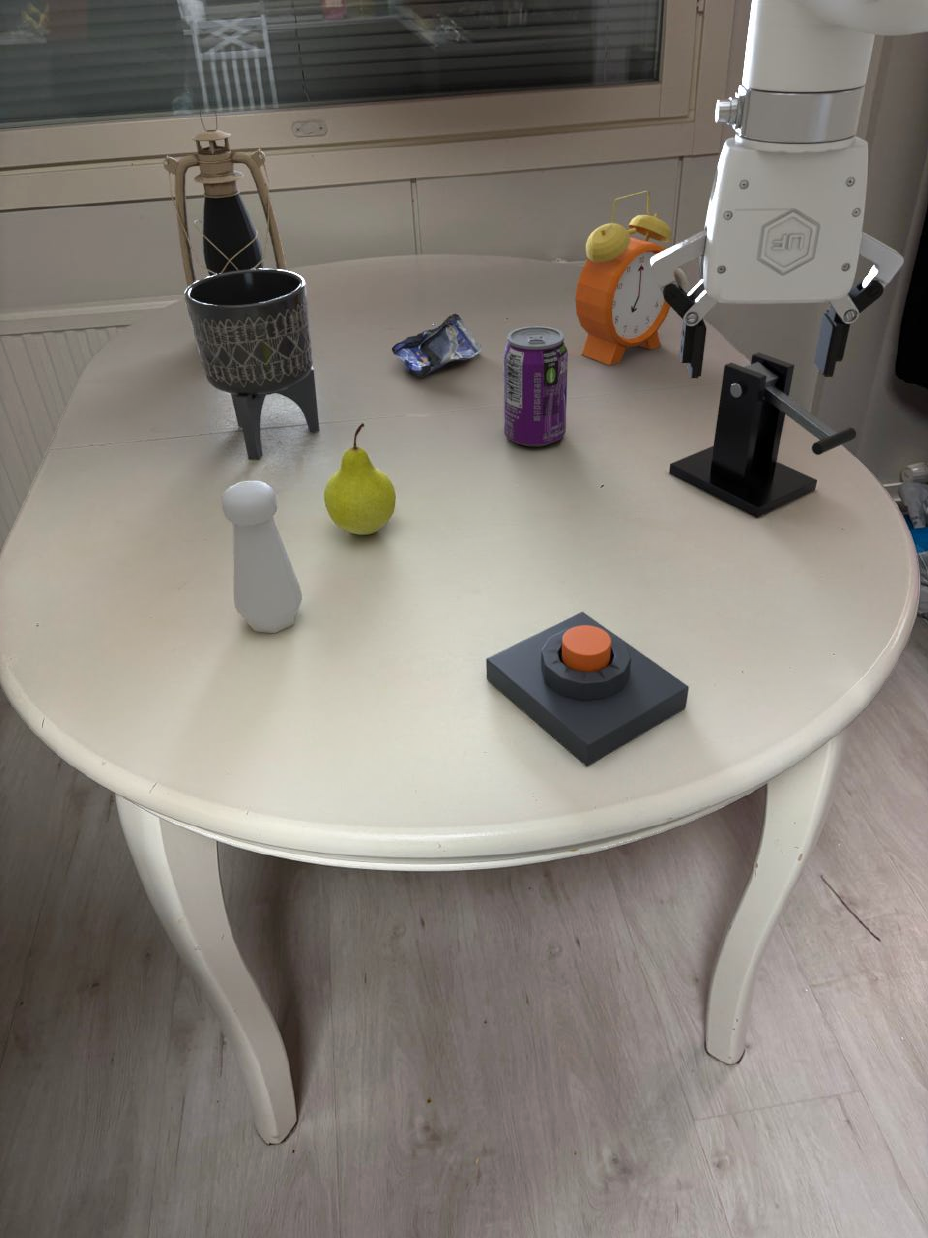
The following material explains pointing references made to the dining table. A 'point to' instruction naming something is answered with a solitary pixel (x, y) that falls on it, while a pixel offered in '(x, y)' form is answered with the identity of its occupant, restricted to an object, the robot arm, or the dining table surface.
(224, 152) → the lantern
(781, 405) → the switch lever
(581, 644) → the button
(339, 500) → the fruit
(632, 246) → the alarm clock
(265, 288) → the planter
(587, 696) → the block
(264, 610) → the salt shaker
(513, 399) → the beverage can
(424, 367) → the snack package
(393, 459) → the dining table surface
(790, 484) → the switch bracket
